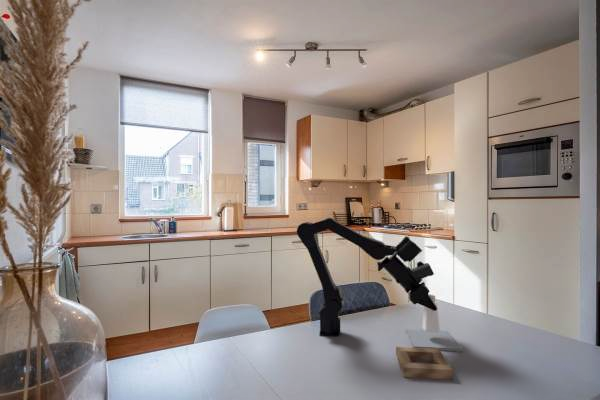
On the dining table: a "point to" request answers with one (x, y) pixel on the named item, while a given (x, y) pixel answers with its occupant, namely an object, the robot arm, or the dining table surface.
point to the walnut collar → (419, 370)
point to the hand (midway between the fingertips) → (435, 307)
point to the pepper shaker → (430, 318)
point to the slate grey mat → (432, 340)
